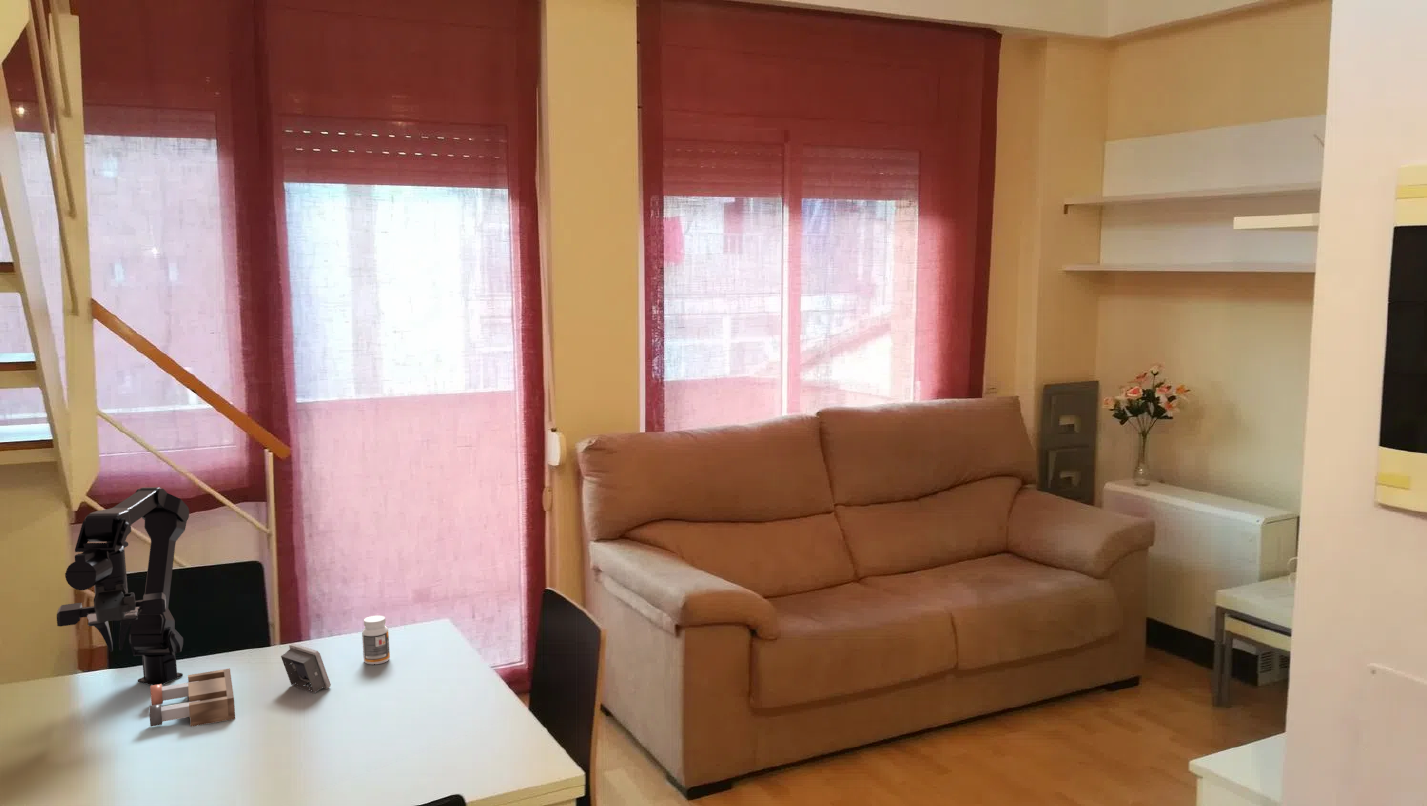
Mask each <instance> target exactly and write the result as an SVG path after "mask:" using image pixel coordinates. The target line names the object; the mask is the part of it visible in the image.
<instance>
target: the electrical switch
mask: <svg viewBox="0 0 1427 806" xmlns="http://www.w3.org/2000/svg"><path fill="white" fill-rule="evenodd" d="M288 648H289V649H288V650H287V651H286V652H285V653H283V654H282V655H280V658H281V660H282V663H283V665H284V669H285V672H286V674H287V677H288V680H289V683H290V686H292V687H295V688H297V689H300V690H303V691H307V692H310V693H312V694H315V693H317V692H318V691H320V690H322V689H326V690H328V689H329V688H330V687H331V685H332V683H331V682H330V679H329V675H328V673H327V670H326V667H325V665H324V662H323V658H322V655H321V653H320V652H319V651H318V650H316V649H313V648H309V647H307V646H303V645H300V644H297V643H291V644H290V645H288Z"/></svg>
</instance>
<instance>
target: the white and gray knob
mask: <svg viewBox="0 0 1427 806" xmlns="http://www.w3.org/2000/svg"><path fill="white" fill-rule="evenodd" d="M198 701H200V700H198ZM192 702H197V701H192ZM189 703H191V702H189V701H187V702H181V703H175V704H171V705H164V706H162V704H157V705H152V704H151V705H149V709H148V710H149V711H148V712H149V724H150V727H151V728H153V727H156V726H157V727H158V726H162V725H163V722H168V721H174V720H179V719H185V718H190V712H189Z"/></svg>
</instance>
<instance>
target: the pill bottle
mask: <svg viewBox="0 0 1427 806" xmlns="http://www.w3.org/2000/svg"><path fill="white" fill-rule="evenodd" d="M386 621H387V620H386V616H384V615H370V616H367V617H365V618H364V619H363V626H364V629H363V630H362V634H361V639H362V649H363V650H362V655H363V662H364V663H365V664H367V665H374V664H375V665H380V664H384V663H386V662H388V661H389V660H390V658H391V656H390V655H391V654H390V639H389V638H390V637H389V634H390V633H389V628H388V627H387V626H386ZM375 665H374V666H375Z"/></svg>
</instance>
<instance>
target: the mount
mask: <svg viewBox="0 0 1427 806" xmlns="http://www.w3.org/2000/svg"><path fill="white" fill-rule="evenodd" d="M187 678H188V679H187V680H188V681H187V683H188V682H192V683H188V690H189V697H188V702H191V703H189V712H190V717H189V722H190V723H189V724H190V725H189V726H190V727H197V725H198V726H202V725H203V726H204V725H208V724H209V725H210V724H213V723H220V722H225V721H231V720H235V719H236V710H235V697H234V695H235V694H234V689H233V680H232V675H231V669H230V668H229V667H228V668H224V669H218V670H212V671H205V672H198V673H194V674H193V673H192V674H188V675H187ZM194 681H198V682H194ZM198 700H200V701H198ZM192 701H197V702H192Z"/></svg>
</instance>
